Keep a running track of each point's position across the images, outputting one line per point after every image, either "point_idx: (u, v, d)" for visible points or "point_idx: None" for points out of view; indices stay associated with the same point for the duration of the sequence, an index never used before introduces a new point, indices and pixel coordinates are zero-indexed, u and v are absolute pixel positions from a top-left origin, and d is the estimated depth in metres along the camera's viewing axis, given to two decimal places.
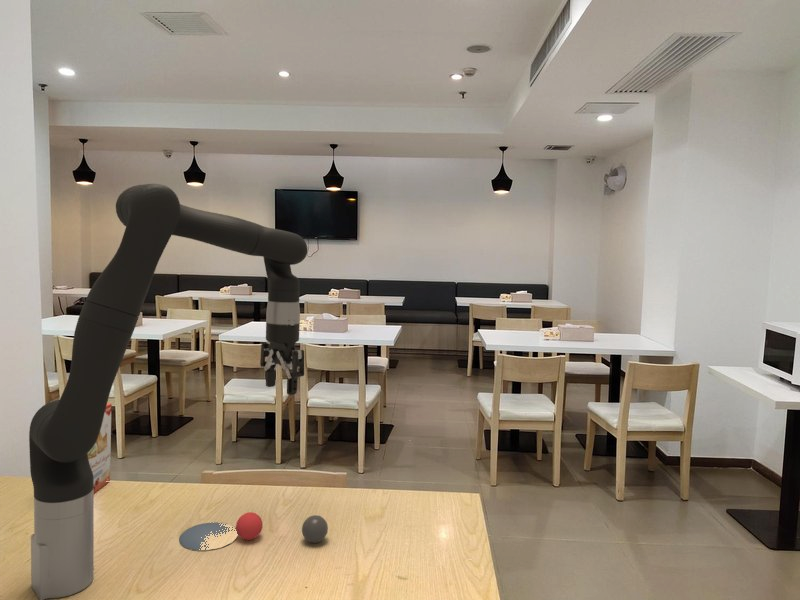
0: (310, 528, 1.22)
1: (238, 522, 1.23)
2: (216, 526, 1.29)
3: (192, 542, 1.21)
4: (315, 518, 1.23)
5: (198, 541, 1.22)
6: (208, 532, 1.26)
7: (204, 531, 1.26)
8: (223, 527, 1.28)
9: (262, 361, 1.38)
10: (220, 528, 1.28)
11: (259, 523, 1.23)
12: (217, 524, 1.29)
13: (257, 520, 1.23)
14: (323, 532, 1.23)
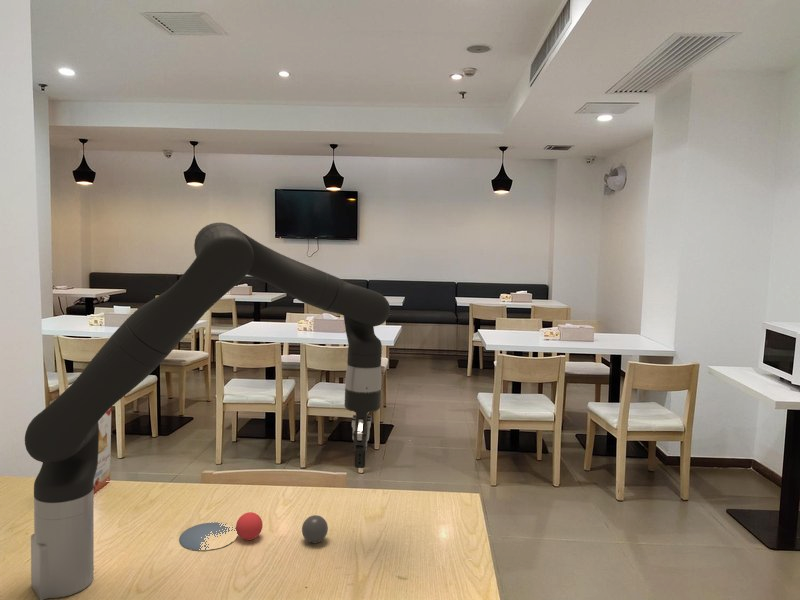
0: (310, 528, 1.22)
1: (238, 522, 1.23)
2: (216, 526, 1.29)
3: (192, 542, 1.21)
4: (315, 518, 1.23)
5: (198, 541, 1.22)
6: (208, 532, 1.26)
7: (204, 531, 1.26)
8: (223, 527, 1.28)
9: None
10: (220, 528, 1.28)
11: (259, 523, 1.23)
12: (217, 524, 1.29)
13: (257, 520, 1.23)
14: (323, 532, 1.23)
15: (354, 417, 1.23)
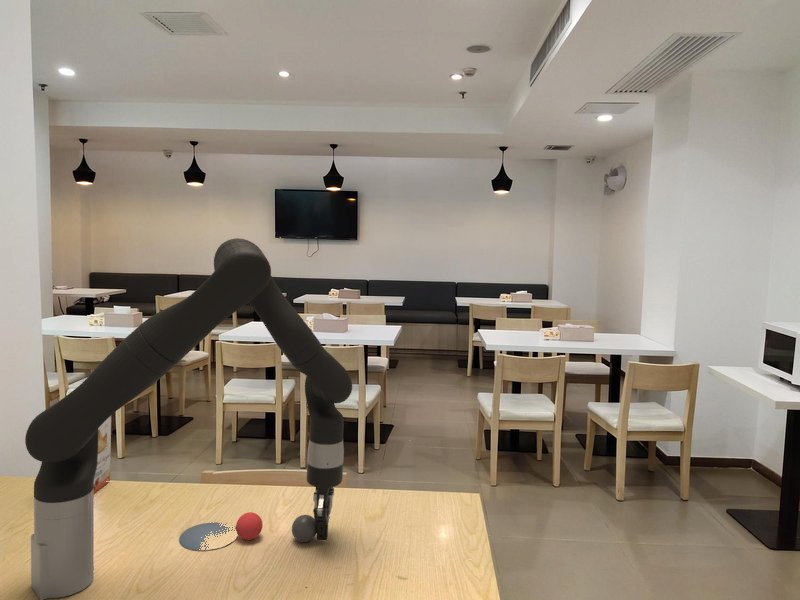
0: (296, 530, 1.22)
1: (238, 522, 1.23)
2: (216, 526, 1.29)
3: (192, 542, 1.21)
4: (298, 519, 1.24)
5: (198, 541, 1.22)
6: (208, 532, 1.26)
7: (204, 531, 1.26)
8: (223, 527, 1.28)
9: None
10: (220, 528, 1.28)
11: (259, 523, 1.23)
12: (217, 524, 1.29)
13: (257, 520, 1.23)
14: (310, 526, 1.23)
15: (317, 490, 1.24)
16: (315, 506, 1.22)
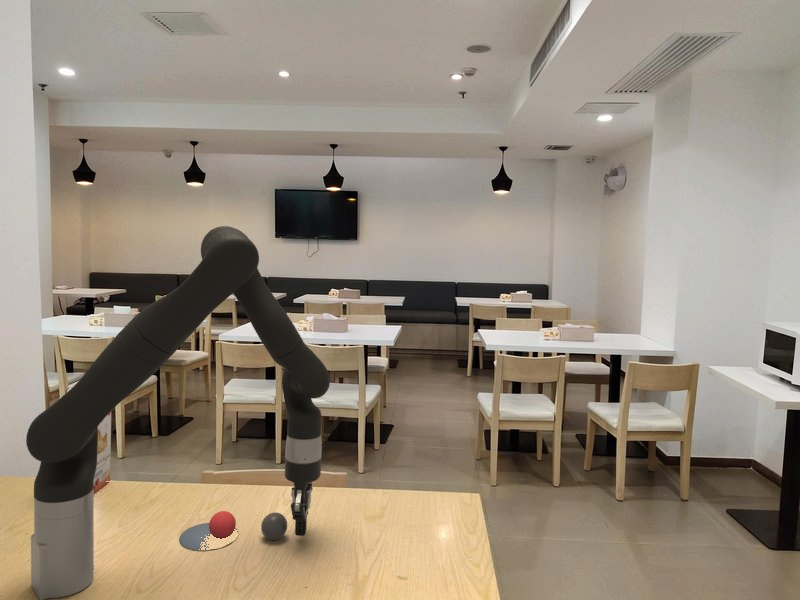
0: (272, 537, 1.23)
1: None
2: None
3: (192, 542, 1.21)
4: None
5: (198, 541, 1.22)
6: (208, 532, 1.26)
7: (204, 531, 1.26)
8: None
9: (304, 514, 1.21)
10: None
11: (211, 519, 1.23)
12: None
13: (209, 522, 1.23)
14: (262, 527, 1.23)
15: (295, 485, 1.24)
16: (293, 501, 1.22)
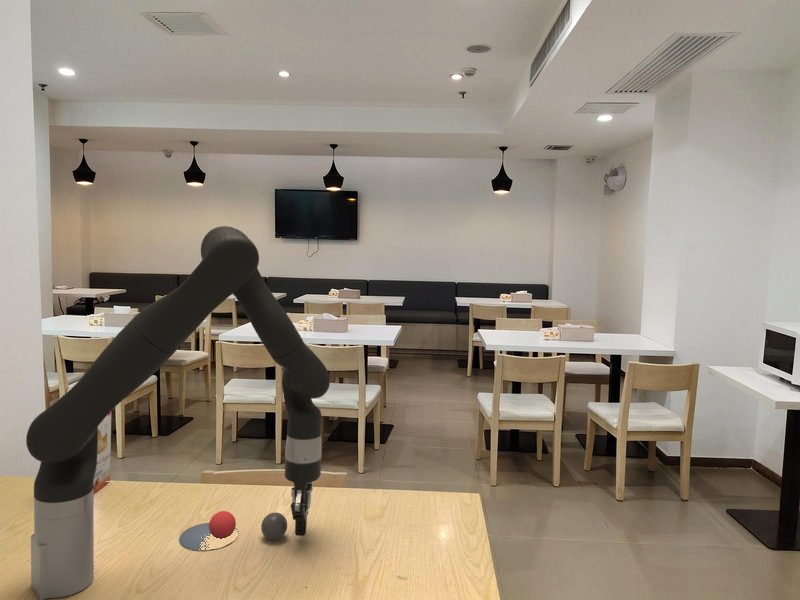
0: (272, 537, 1.23)
1: None
2: None
3: (192, 542, 1.21)
4: None
5: (198, 541, 1.22)
6: (208, 532, 1.26)
7: (204, 531, 1.26)
8: None
9: (304, 514, 1.21)
10: None
11: (211, 519, 1.23)
12: None
13: (209, 522, 1.23)
14: (262, 527, 1.23)
15: (295, 485, 1.24)
16: (293, 501, 1.22)
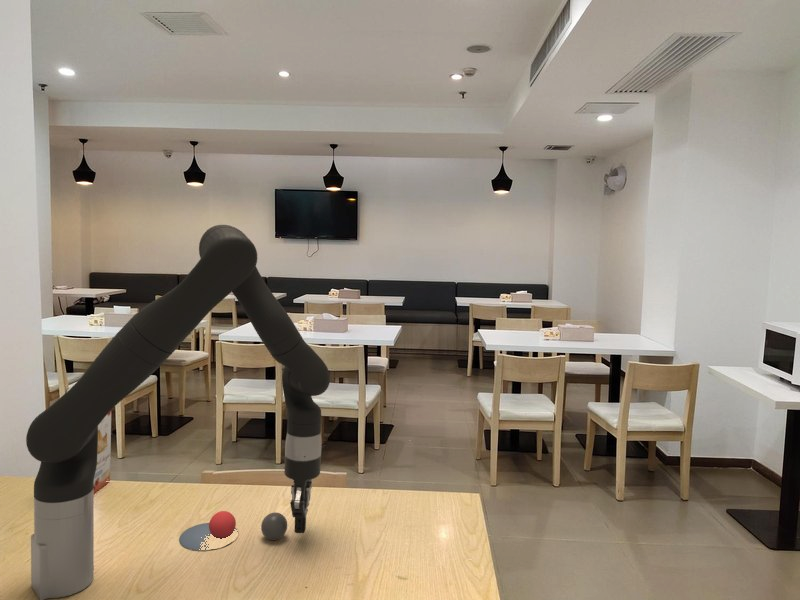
0: (272, 537, 1.23)
1: None
2: None
3: (192, 542, 1.21)
4: None
5: (198, 541, 1.22)
6: (208, 532, 1.26)
7: (204, 531, 1.26)
8: None
9: (304, 511, 1.21)
10: None
11: (211, 519, 1.23)
12: None
13: (209, 522, 1.23)
14: (262, 527, 1.23)
15: (294, 482, 1.24)
16: (293, 499, 1.22)
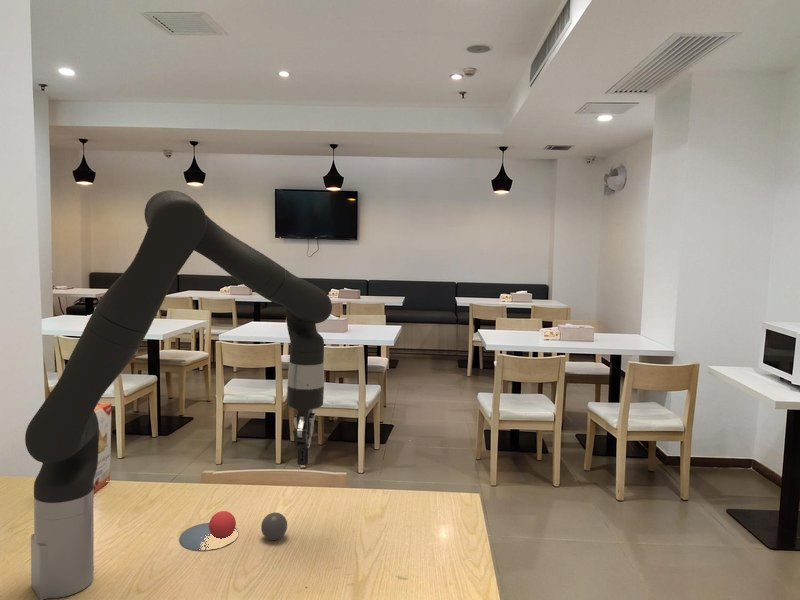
0: (272, 537, 1.23)
1: None
2: None
3: (192, 542, 1.21)
4: None
5: (198, 541, 1.22)
6: (208, 532, 1.26)
7: (204, 531, 1.26)
8: None
9: (307, 442, 1.20)
10: None
11: (211, 519, 1.23)
12: None
13: (209, 522, 1.23)
14: (262, 527, 1.23)
15: None
16: None
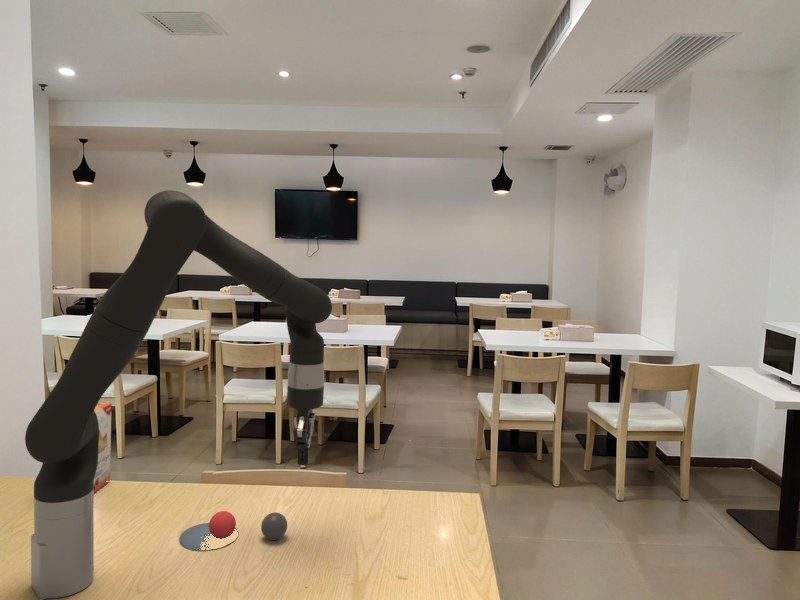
0: (272, 537, 1.23)
1: None
2: None
3: (192, 542, 1.21)
4: None
5: (198, 541, 1.22)
6: (208, 532, 1.26)
7: (204, 531, 1.26)
8: None
9: (307, 441, 1.20)
10: None
11: (211, 519, 1.23)
12: None
13: (209, 522, 1.23)
14: (262, 527, 1.23)
15: None
16: None
